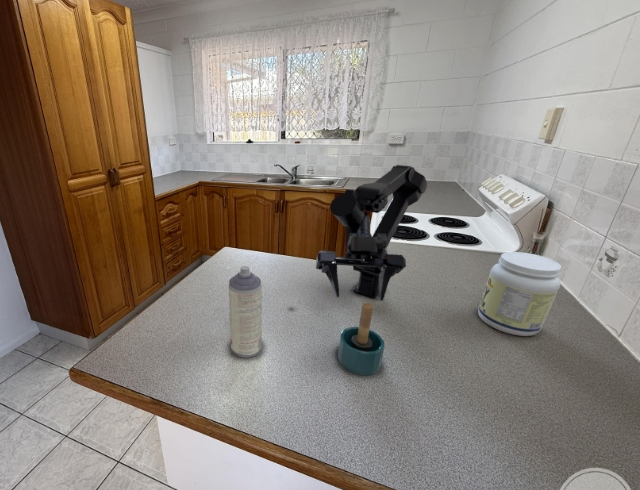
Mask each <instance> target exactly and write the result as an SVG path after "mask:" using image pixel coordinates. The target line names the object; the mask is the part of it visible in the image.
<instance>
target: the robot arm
mask: <svg viewBox="0 0 640 490" xmlns="http://www.w3.org/2000/svg"><path fill="white" fill-rule="evenodd" d="M427 188H428V181H427V179H426V176H425V175H423V174H422V173H420V172H418V171H417V170H416V169H415V167H413V166H411V165H402V164H396V165H393V166H392V168H391V169H390V170H389V171H388V172H387V173H385V174H383V175H382V176H381V177H380V178H378V179H376V181H374V182H368V183H363V184H361V185H358V186H357V187H356V188H355V189H349V188H348V189H345V192H344V193H341V194H339V195H337V196H335V197H334V198H333V199H332V201H331V202H330V205H329V209H330V212H331V214H332V215H333V216H334V217H335V219H336V220H337V221H338V222H339V223H340V224H341V225H342V226H344V250H345V251H344V256H337V253H336V251H332V250H319V251H318V253H316V254H317V255H316V259H315V269H316V270H320V271H321V273H323V274H325V275H326V277H327V278H328V280H329V282H330V285H331V287H332V290H333V292H334V295H335V297H336V298H337V299H338V298H340V287H339V286H340V285H339V284H340V283H339V275H338V266H347V267H348V266H349V267H352V270H353V271H356V272H359V276H358V282H357V285H356V286H355V287H354V288H353V290H352V291H353V293H357V294H359V295H362V296H366V297H369V298H372V299H377V298H378V297H379V301H381V302H382V301H383V300H384V298H385V295H386V291H387V289H388V285H389V283H390V280H391V278H392V277H394V276H395V275H396V274H400V273H401V271H403V270H404V268H406V267H407V261H406V258H405V256H403V255H402V254H396V253H395V254H393V253H392V254H391V253H389V252H388V246H389V245H390V242H391V240H392V238H393V236H395V235H394V234H395V233H396V231H397V229H398V227H399V225H400V224H401V221H402V219H403V218H404V215H405V214H406V211H407V210H408V208H409V206H411V205H413V204H416V203H417V202H418V201H419V200H420V198H421V197H422V195H424V194H425V193H426V190H427ZM391 195H392V199H391V201H390V203H389V200H388V199H389V198H388V197H390V196H391ZM388 203H389V204H388ZM387 205H388V206H387ZM386 206H387V209H386V210H385V212H384V213H383V216H382V217H381V219H380V221H379V223H378V225H377V227H376V228H375V230H374V232H373V234H372V233H371V216H370V214H369V213H367V212H370V213H374V214H379V213H381V212H382V211H383V210H384V209H385V208H386Z"/></svg>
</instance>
